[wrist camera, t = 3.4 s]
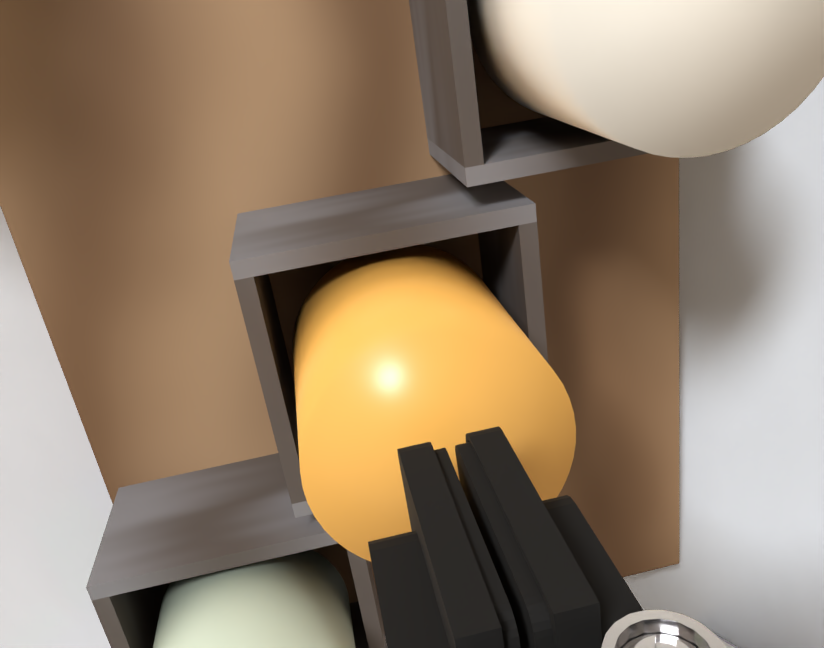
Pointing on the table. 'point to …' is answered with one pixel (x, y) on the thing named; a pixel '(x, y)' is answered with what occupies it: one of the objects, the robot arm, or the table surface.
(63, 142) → the button board
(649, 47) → the cream button
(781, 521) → the table surface
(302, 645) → the sage button
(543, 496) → the orange button
